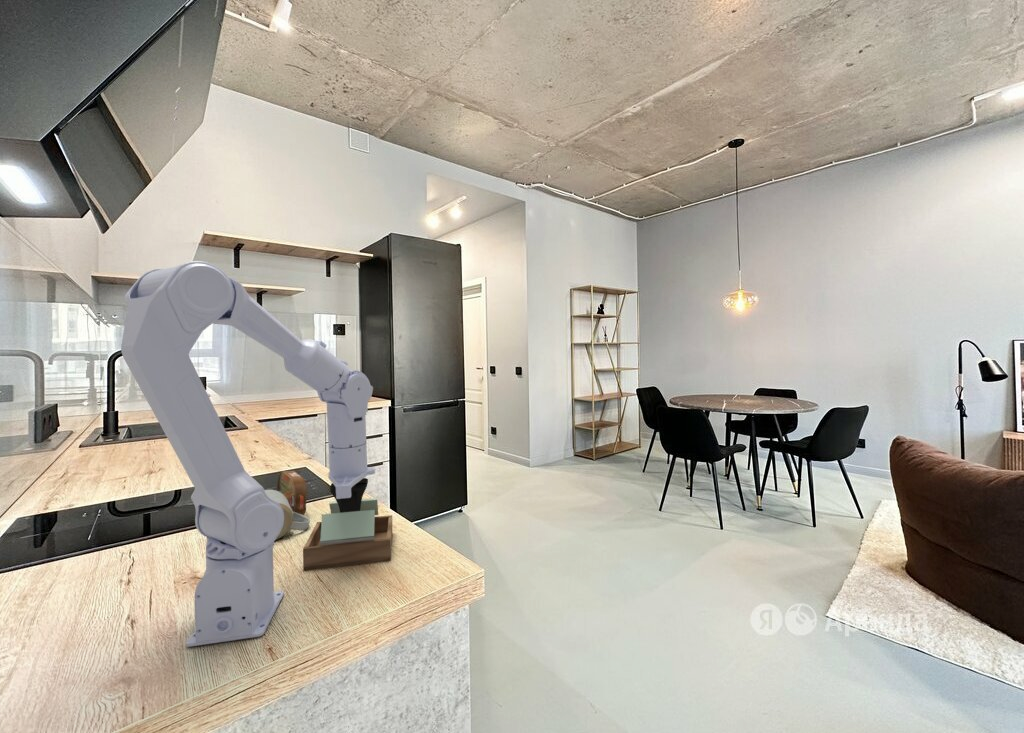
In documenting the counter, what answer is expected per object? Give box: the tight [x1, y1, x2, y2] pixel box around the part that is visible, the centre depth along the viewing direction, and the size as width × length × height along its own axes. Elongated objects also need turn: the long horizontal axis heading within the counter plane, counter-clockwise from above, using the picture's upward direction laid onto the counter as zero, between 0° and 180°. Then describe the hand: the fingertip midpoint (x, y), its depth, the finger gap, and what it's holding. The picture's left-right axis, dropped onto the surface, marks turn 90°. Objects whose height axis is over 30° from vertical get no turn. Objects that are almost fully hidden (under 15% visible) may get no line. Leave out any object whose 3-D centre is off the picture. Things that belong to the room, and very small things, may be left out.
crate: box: [302, 515, 393, 572], centre depth 73 cm, size 11×13×3 cm
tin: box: [276, 470, 308, 516], centre depth 91 cm, size 15×3×8 cm, turn 40°
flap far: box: [329, 497, 379, 516], centre depth 77 cm, size 8×4×1 cm
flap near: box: [320, 510, 376, 545], centre depth 69 cm, size 8×4×1 cm
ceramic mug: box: [264, 489, 311, 541], centre depth 80 cm, size 11×8×8 cm
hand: (351, 525), depth 70 cm, fingers closed, pressing on flap near
